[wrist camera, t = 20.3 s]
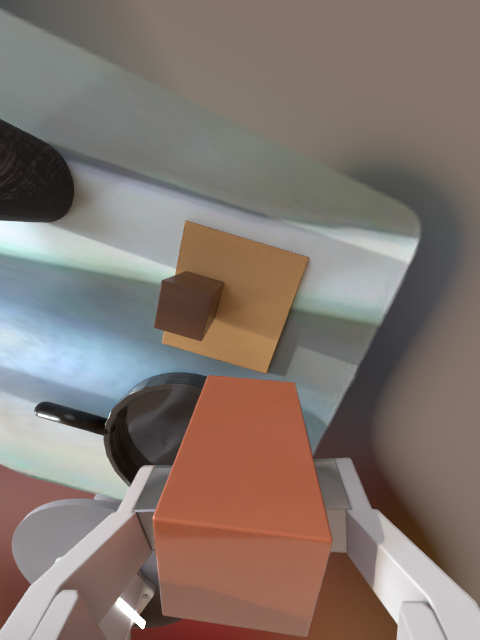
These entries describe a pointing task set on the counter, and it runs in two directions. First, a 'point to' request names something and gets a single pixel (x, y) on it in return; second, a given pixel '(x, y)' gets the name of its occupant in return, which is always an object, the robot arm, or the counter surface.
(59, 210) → the travel mug
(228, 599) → the terracotta block
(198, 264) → the mat
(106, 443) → the pan
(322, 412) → the counter surface
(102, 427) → the pan handle
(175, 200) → the counter surface
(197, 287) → the walnut block
